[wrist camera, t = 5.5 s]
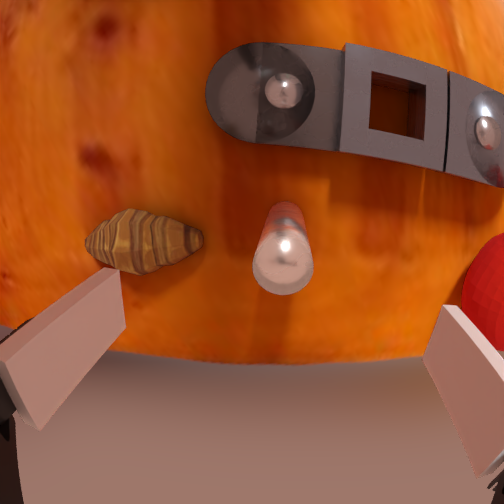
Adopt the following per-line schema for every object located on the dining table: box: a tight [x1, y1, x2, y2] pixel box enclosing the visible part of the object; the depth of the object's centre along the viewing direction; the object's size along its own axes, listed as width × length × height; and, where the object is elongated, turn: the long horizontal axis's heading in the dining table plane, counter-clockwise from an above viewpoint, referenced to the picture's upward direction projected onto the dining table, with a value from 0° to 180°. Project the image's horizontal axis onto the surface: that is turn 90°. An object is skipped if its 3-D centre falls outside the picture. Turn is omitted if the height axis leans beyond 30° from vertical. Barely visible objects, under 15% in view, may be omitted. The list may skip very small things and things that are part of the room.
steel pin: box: [252, 201, 313, 295], centre depth 21 cm, size 3×3×12 cm
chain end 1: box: [205, 42, 428, 169], centre depth 22 cm, size 20×9×3 cm, turn 86°
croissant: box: [85, 209, 203, 276], centre depth 27 cm, size 14×7×5 cm, turn 93°
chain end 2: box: [335, 43, 504, 188], centre depth 20 cm, size 20×9×5 cm, turn 86°
